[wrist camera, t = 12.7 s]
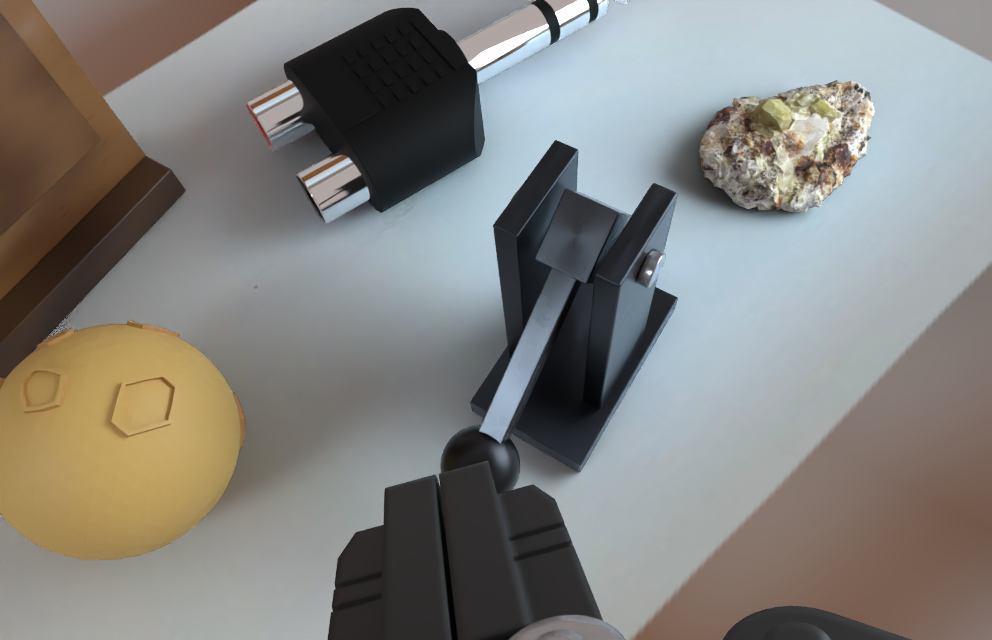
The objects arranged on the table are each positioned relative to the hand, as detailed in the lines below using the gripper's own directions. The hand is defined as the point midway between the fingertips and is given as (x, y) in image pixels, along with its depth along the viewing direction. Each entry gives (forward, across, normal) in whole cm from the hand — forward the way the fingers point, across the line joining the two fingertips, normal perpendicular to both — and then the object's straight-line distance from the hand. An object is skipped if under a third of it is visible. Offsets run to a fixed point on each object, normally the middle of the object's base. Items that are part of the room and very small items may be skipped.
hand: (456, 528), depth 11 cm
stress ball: (+25, -14, -8) cm, 30 cm away
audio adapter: (+39, +6, +5) cm, 40 cm away
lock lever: (+19, +4, -5) cm, 20 cm away
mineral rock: (+32, +21, -2) cm, 38 cm away
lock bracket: (+26, +6, -8) cm, 27 cm away
